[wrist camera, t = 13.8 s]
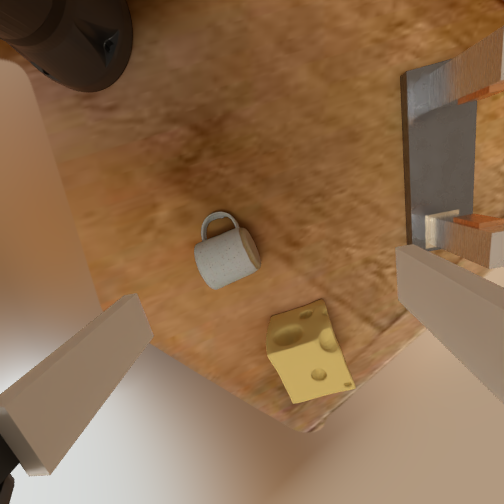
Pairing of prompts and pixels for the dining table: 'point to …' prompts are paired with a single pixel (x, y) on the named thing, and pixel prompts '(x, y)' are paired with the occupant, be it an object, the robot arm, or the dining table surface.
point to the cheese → (307, 353)
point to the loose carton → (470, 237)
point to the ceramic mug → (226, 254)
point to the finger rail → (445, 133)
